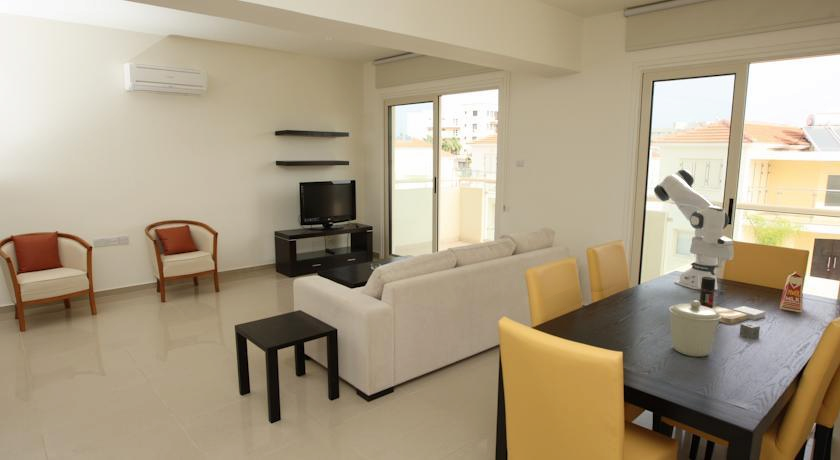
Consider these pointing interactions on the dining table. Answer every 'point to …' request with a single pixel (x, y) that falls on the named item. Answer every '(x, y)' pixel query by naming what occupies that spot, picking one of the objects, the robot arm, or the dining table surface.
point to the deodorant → (707, 291)
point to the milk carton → (792, 294)
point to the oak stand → (730, 315)
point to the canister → (693, 328)
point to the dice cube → (749, 330)
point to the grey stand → (751, 312)
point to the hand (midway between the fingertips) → (709, 265)
